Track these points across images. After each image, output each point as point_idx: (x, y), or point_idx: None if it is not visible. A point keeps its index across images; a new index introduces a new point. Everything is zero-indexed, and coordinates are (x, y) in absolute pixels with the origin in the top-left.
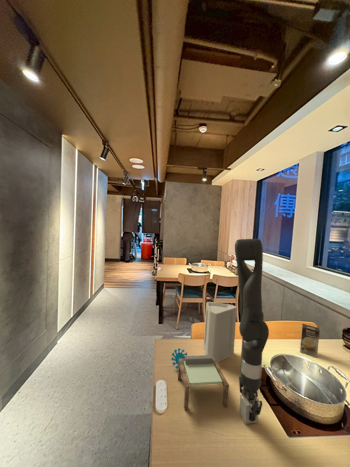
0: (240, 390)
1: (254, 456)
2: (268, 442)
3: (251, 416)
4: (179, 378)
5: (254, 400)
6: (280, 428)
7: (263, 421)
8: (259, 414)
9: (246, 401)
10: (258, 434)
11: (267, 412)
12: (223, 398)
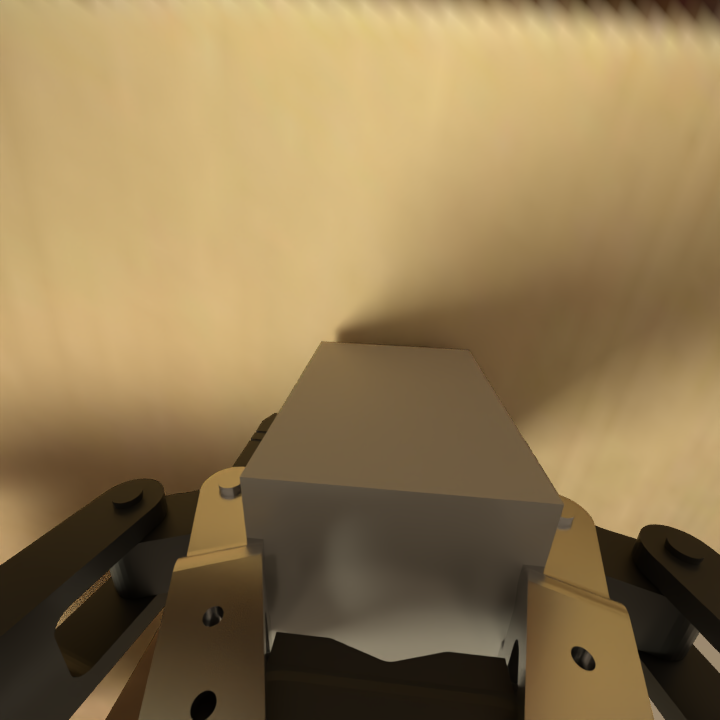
0: (142, 606)
1: (713, 531)
2: (679, 352)
3: None
4: None
5: (525, 648)
6: (606, 66)
7: (455, 255)
8: (703, 548)
9: (415, 656)
10: (570, 399)
11: (345, 106)
12: None
